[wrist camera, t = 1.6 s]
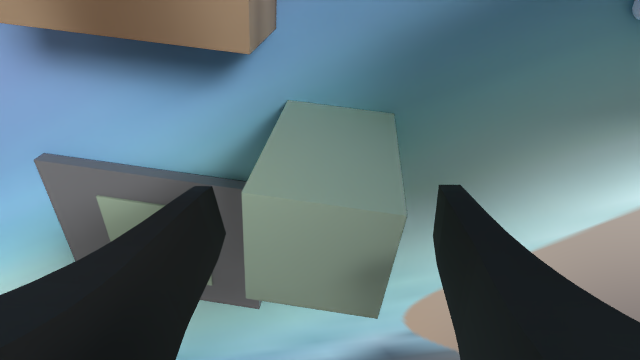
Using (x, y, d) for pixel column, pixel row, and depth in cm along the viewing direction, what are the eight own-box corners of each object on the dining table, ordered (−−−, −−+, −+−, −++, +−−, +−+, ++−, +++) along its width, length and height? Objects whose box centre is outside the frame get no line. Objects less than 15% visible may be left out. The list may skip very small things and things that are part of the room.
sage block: (394, 113, 14) (407, 215, 9) (375, 198, 16) (377, 318, 11) (287, 99, 14) (241, 192, 9) (284, 186, 16) (246, 298, 11)
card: (261, 183, 16) (257, 193, 15) (262, 299, 21) (258, 310, 20) (43, 153, 16) (31, 161, 16) (90, 273, 21) (82, 283, 20)
